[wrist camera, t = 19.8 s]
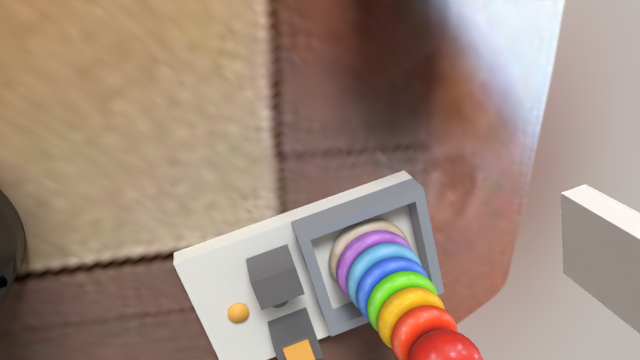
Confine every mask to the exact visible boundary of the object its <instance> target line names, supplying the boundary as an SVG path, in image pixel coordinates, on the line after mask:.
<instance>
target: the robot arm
mask: <svg viewBox="0 0 640 360" xmlns="http://www.w3.org/2000/svg"><path fill="white" fill-rule="evenodd" d="M561 209H562V240H563V271H564V274H565V275H567V276H568V277H569V278H570V279H572V280H573V281H574V282H575V283H577V284H578V285H579V286H580V287H582V288H583V289H584V290H585V291H587V292H588V293H589V294H590V295H592V296H593V297H594V298H595V299H597V300H598V301H599V302H601V303H602V304H603V305H604V306H606V307H607V308H608V309H609V310H611V311H612V312H613V313H614V314H616V315H617V316H618V317H619V318H621V319H622V320H623V321H624V322H626V323H627V324H628V325H629V326H631V327H632V328H633V329H634V330H636V331H637V332H638V333H640V213H639V212H637V211H635V210H633V209H631V208H629V207H627V206H625V205H624V204H622V203H620V202H618V201H616V200H614V199H612V198H610V197H608V196H606V195H605V194H603V193H601V192H599V191H597V190H595V189H593V188H591V187H589V186H587V185H582V186H579V187H577V188H574V189H571V190H568V191H565V192H562V193H561ZM24 253H25V236H24V231H23V227H22V224H21V221H20V218H19V216H18V214H17V212H16V210H15V208H14V207H13V205H12V204H11V202H10V201H9V199H8V198H7V197H6V196H5V195H4V193H3V192H2V191H1V190H0V300H1V299H2V298H3V296H4V295H5V294H6V292H7V291H8V289H9V288H10V286H11V284H12V283H13V281H14V279H15V278H16V276H17V274H18V272H19V270H20V268H21V265H22V262H23V258H24Z"/></svg>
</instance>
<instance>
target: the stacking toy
mask: <svg viewBox="0 0 640 360" xmlns="http://www.w3.org/2000/svg"><path fill="white" fill-rule="evenodd" d="M329 269H330V272H331V275H332V277H333V279H334V280H335V282H336V283H337V284H338V285H339V287H340V289H341V291H342V292H343V293H344V294H345V295H346V296H347V297H348V298H349V299H351V301H352V302H353V304H354V305H355V306H356V307H357V308H358V309H359V310H360V312H361V313H362V315H363V316H364V317H365V318H366V319H367V320H368V321H370V323H371V325H372V326H373V328H374V329H375V330H376V331H377V332H378V333H379V335H380V337H381V339H382V341H383V342H384V343H385V344H386V345H387V346H388V347H390V348H392V350H393V352H394V354H395V356H396V357H397V359H398V360H483V359H482V356H481V354H480V352H479V350H478V348H477V347H476V346H475V345H474V343H473V342H472V341H471V340H469V339H468V338H467V337H465V336H464V335H462V334H461V333H458V332H457V326H456V323H455V321H454V319H453V317H452V316H451V315H450V314H449V313H448V312H447V311H446V310H445V308H444V305H443V303H442V301H441V299H440V298H439V297H438V293H437V290H436V288H435V286H434V284H433V283H432V282H431V281H430V280H429V278H428V275H427V273H426V272H425V270H424V269H423V267H422V264H421V261H420V260H419V258H418V256H417V255H416V254H415V253H414V252H413V250H412V248H411V246H410V245H409V242H408V239H407V237H406V236H405V234H404V233H403V231H402V230H401V229H400V228H399V227H397V226H396V225H395V224H393V223H391V222H389V221H386V220H381V219H367V220H364V221H361V222H358V223H355V224H353V225H351V226H349V227H348V228H346V229H345V230H344V231H343V232H342V233H341V234H340V235H339V236H338V237H337V239H336V240H335V242H334V244H333V246H332V248H331V251H330V255H329Z"/></svg>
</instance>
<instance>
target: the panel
mask: <svg viewBox="0 0 640 360" xmlns="http://www.w3.org/2000/svg"><path fill="white" fill-rule="evenodd" d="M411 178H412V177H411V176H410V175H409V174H408V173H407V172H406V171H405V170H403V171H401V172H398V173H395V174H392V175H390V176H387V177H384V178H381V179H378V180H376V181H373V182H370V183H367V184H364V185H362V186H359V187H356V188H353V189H350V190H348V191H345V192H342V193H339V194H336V195H334V196H331V197H328V198H325V199H322V200H320V201H317V202H314V203H311V204H309V205H306V206H303V207H300V208H297V209H295V210H292V211H289V212H286V213H283V214H281V215H278V216H275V217H272V218H269V219H267V220H264V221H261V222H258V223H255V224H253V225H250V226H247V227H244V228H241V229H239V230H236V231H233V232H230V233H228V234H225V235H222V236H219V237H216V238H214V239H211V240H208V241H205V242H202V243H200V244H197V245H194V246H191V247H188V248H186V249H183V250H180V251H177V252H174V263H173V264H174V266H175V268H176V270H177V272H178V275H179V277H180V279H181V281H182V283H183V285H184V287H185V289H186V291H187V293H188V295H189V297H190V300H191V302H192V304H193V306H194V308H195V310H196V312H197V314H198V316H199V318H200V320H201V323H202V325H203V327H204V329H205V331H206V333H207V335H208V337H209V339H210V341H211V343H212V345H213V348H214V350H215V352H216V354H217V356H218V358H219V360H268V359H270V358H273V357H275V356H276V354H275V352H274V349H273V345H272V340H271V336H270V331H269V327H268V321H271V320H273V319H276V318H279V317H281V316H284V315H287V314H289V313H292V312H294V311H297V310H300V309H302V308H305V307H306V308H307V311H308V314H309V317H310V320H311V323H312V325H313V328H314V331H315V334H316V337H317V340H319V339H321V338H324V337H327V336H329V335H330V333H329V331H328V328H327V325H326V323H325V320H324V317H323V314H322V311H321V308H320V305H319V303H318V300H317V297H316V294H315V291H314V288H313V285H312V282H311V279H310V276H309V273H308V270H307V267H306V264H305V261H304V258H303V255H302V252H301V249H300V246H299V243H298V240H297V238H296V235H295V232H294V229H293V226H292V223H291V221H294V220H297V219H300V218H302V217H305V216H308V215H311V214H313V213H316V212H319V211H322V210H325V209H327V208H330V207H333V206H336V205H338V204H341V203H344V202H347V201H350V200H352V199H355V198H358V197H361V196H363V195H366V194H369V193H372V192H374V191H377V190H380V189H383V188H386V187H388V186H391V185H394V184H397V183H399V182H402V181H405V180H408V179H411ZM369 219H381V220H386V221H389V222H391V223H393V224H395V225H396V226H397V227H399V228H400V229H401V230H402V231H403V233H404V234H405V236H406V237H407V239H408V242H409V245H410V246H411V248H412V250H413V252H414V253H415V254H416V255H417V256H418V258H419V255H418V250H417V245H416V241H415V236H414V231H413V227H412V222H411V218H410V213H409V208H408V204H407V205H404V206H402V207H399V208H396V209H394V210H391V211H388V212H385V213H383V214H380V215H377V216H374V217H372V218H369ZM366 220H367V219H366ZM350 226H351V225H350ZM348 227H349V226H347V227H344V228H342V229H339V230H336V231H334V232H331V233H328V234H325V235H323V236H320V237H317V238H314V239H312V240H311V243H312V246H313V250H314V253H315V256H316V259H317V262H318V265H319V268H320V271H321V274H322V277H323V280H324V283H325V286H326V290H327V293H328V296H329V299H330V302H331V305H332V308H333V309H334V308H337V307H340V306H342V305H345V304H347V303H350V302H352V301H351V299H349V298H348V297H347V296H346V295H345V294H344V293H343V292H342V291H341V289H340V287H339V285H338V284H337V283H336V282H335V280H334V279H333V277H332V275H331V272H330V269H329V255H330V251H331V248H332V246H333V244H334V242H335V240H336V239H337V237H338V236H339V235H340V234H341V233H342V232H343V231H344V230H345V229H346V228H348ZM285 244H287V245H288V248H289V250H290V253H291V256H292V259H293V261H294V264H295V267H296V270H297V273H298V275H299V278H300V281H301V284H302V287H303V290H304V293H305V294H304V295H301V296H299V297H296V298H293V299H291V300H288V301H285V302H283V303H280V304H277V305H275V306H272V307H270V308H267V309H264V310H262V311H261V308H260V306H259V303H258V301H257V298H256V296H255V293H254V291H253V288H252V286H251V283H250V278H249V273H248V268H247V263H246V259H247V258H250V257H253V256H255V255H258V254H261V253H264V252H266V251H269V250H272V249H274V248H277V247H280V246H283V245H285ZM419 260H420V259H419Z"/></svg>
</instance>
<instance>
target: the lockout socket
mask: <svg viewBox="0 0 640 360" xmlns="http://www.w3.org/2000/svg"><path fill="white" fill-rule="evenodd" d="M407 204H408V208H409V213H410V218H411V222H412V227H413V231H414V236H415V241H416V245H417V250H418V255H419V259H420V261H421V264H422V267H423V269H424V270H425V272H426V273H427V275H428V278H429V280H430V281H431V282H432V283H433V284H434V286H435V288H436V290H437V293H438V295H439V294H442V293H444V288H443V283H442V278H441V273H440V268H439V263H438V258H437V252H436V247H435V242H434V237H433V232H432V227H431V222H430V217H429V212H428V207H427V202H426V196H425V191H424V188H423V187H422V186H421V185H420V184H419V183H418V182H417V181H416V180H414V179H413V178H411V179H408V180H405V181H402V182H399V183H397V184H394V185H391V186H388V187H386V188H383V189H380V190H377V191H374V192H372V193H369V194H366V195H363V196H361V197H358V198H355V199H352V200H350V201H347V202H344V203H341V204H338V205H336V206H333V207H330V208H327V209H325V210H322V211H319V212H316V213H313V214H311V215H308V216H305V217H302V218H300V219H297V220H294V221H291V223H292V226H293V229H294V232H295V235H296V238H297V240H298V243H299V246H300V249H301V252H302V255H303V258H304V261H305V264H306V267H307V270H308V273H309V276H310V279H311V282H312V285H313V288H314V291H315V294H316V297H317V300H318V303H319V305H320V308H321V311H322V314H323V317H324V320H325V323H326V325H327V328H328V331H329V333H330V336H331V337H332V336H334V335H337V334H340V333H342V332H345V331H347V330H350V329H352V328H355V327H358V326H360V325H363V324H365V323H368V322H370V321H368V320H367V319H366V318H365V317H364V316H363V315H362V313H361V312H360V310H359V309H358V308H357V307H356V306H355V305H354V304H353V302H350V303H347V304H345V305H342V306H340V307H337V308H334V309H333V308H332V305H331V302H330V299H329V296H328V293H327V290H326V286H325V283H324V280H323V277H322V274H321V271H320V268H319V265H318V262H317V259H316V256H315V253H314V250H313V246H312V243H311V240H312V239H314V238H317V237H320V236H323V235H325V234H328V233H331V232H334V231H336V230H339V229H342V228H344V227H347V226H350V225H353V224H355V223H358V222H361V221H364V220H366V219H369V218H372V217H374V216H377V215H380V214H383V213H385V212H388V211H391V210H394V209H396V208H399V207H402V206H404V205H407Z"/></svg>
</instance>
